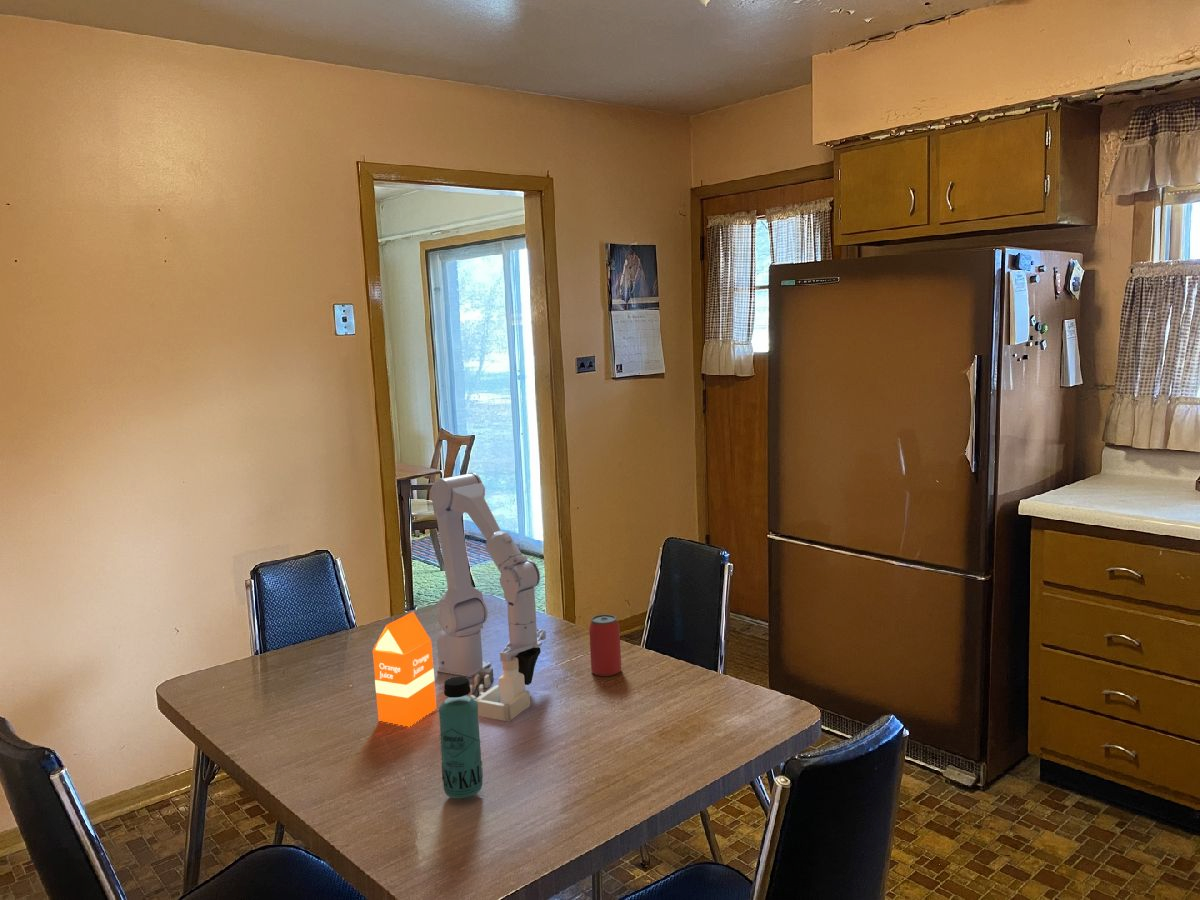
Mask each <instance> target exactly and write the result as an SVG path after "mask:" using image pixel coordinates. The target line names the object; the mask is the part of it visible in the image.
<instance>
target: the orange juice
mask: <svg viewBox="0 0 1200 900" xmlns="http://www.w3.org/2000/svg"><path fill="white" fill-rule="evenodd" d="M424 628H425V627H423V625H422V623H421V622H420V621H419V619H418V617H417V616H416V613H415V612H414V611H411V612H410V613H408V614H405V615H403V616H402V617H400V618H398V619H396V620H394V621H392V622H389V623H388V624H385V627H384V628H383V631H382V632H381V634H380V636H379V638H378V640H377V642H376V643H375V645H374V647H373V649H372V657H373V658H372V659H373V669H374V670H373V671H374V685H375V694H376V704H377V705H376V706H377V715H378V717H377V718H378V722H379V721H383V722H388V723H387V724H389V723H393V724H392V725H394V724H398V725H397V726H400V725H403V726H402V727H405V726H408V727H407V728H411V727H413V726H414V725H415V724H417V723H418V722H419V720H420V719H421V720H423V719H424V718H425V716H426V715H427V716H429V713H430V714H431V713H432V711H433V712H434V711H436V710H437V702H436V699H437V698H436V687H435V686H436V685H435V670H434V659H433V658H434V657H433V647H432V646H433V645H432V639H431V638H430V636H429V635H428V634H427V633H428V632H427V631H426V629H424ZM435 709H436V710H435ZM423 717H424V718H423ZM422 718H423V719H422ZM421 720H420V721H421ZM417 721H418V722H417ZM383 722H382V723H383ZM416 722H417V723H416ZM414 723H415V724H414ZM413 724H414V725H413ZM412 725H413V726H412ZM410 726H411V727H410Z"/></svg>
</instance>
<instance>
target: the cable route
mask: <svg viewBox="0 0 1200 900" xmlns="http://www.w3.org/2000/svg"><path fill="white" fill-rule="evenodd" d="M477 674H480V682H479V683H478V684H477V686H476V687H474V689H473V695H474V696H475V697H476V698H478V695H479V686H480V685H482V684H483V685H484V677H485V676H486V675H490V682H491V683H492V682H493V680H494V678H495V677H494V668H493V667H492V668H489V667H486V668H481V669H480V670H479V672H478V673H477Z"/></svg>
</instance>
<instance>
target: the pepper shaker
mask: <svg viewBox="0 0 1200 900" xmlns="http://www.w3.org/2000/svg"><path fill="white" fill-rule="evenodd" d="M501 664H502V670H503V671H502V672H503V673H502V674H501V675H500V676H499V677H498V685H499V692H500V701H499V703H503V704H507V703H508V702H509V701H511V700H512V699H514V698H515V697H516V696H518V695H519V694H521V693H522V692H523V691H525V690H526V685H525V681H524V675H523V674H522V673H520V672H518V668H519V665H518V658H516V657H511V660H510V661H502V662H501Z"/></svg>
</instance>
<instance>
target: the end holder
mask: <svg viewBox="0 0 1200 900" xmlns="http://www.w3.org/2000/svg"><path fill="white" fill-rule="evenodd" d="M484 692H485V693H484V694H482V695H481V696H479V697H478V698H476V699H475V701H476V702H477V704H478V717H481V718H482V717H484V718H488V719H494V720H497V721H498V720H499V721H504V722H510V721H511V720H513V719H514V718H516V717H517V716H518V715H519V714H520V713H522V712H523V711H524V710H527V708H528V707H530V706H531V696H530V695H531V694H530V690H527V689H525V691H523V692H522V693H521V694H519V695H518V696H516V697H515V698H514V699H512V700H511V701H509V702H508V703H507V704H503V703H500V692H499V684H495V685H494V686H493V687H491V688H490V689H488V690H487V691H484Z"/></svg>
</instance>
